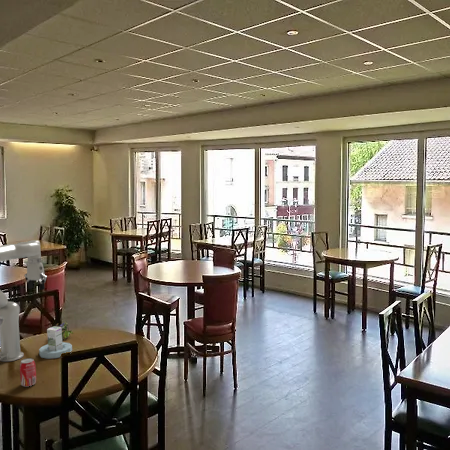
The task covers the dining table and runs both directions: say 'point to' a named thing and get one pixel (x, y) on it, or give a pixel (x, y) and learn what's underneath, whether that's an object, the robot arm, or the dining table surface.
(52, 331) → the syrup box
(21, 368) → the soda can
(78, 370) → the dining table surface
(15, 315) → the robot arm
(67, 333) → the passion flower
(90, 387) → the dining table surface
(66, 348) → the pale blue ring
